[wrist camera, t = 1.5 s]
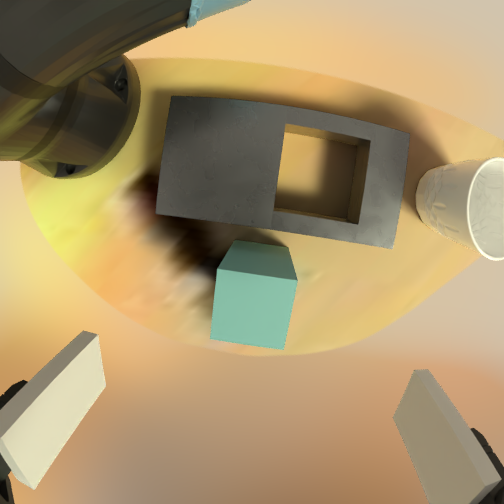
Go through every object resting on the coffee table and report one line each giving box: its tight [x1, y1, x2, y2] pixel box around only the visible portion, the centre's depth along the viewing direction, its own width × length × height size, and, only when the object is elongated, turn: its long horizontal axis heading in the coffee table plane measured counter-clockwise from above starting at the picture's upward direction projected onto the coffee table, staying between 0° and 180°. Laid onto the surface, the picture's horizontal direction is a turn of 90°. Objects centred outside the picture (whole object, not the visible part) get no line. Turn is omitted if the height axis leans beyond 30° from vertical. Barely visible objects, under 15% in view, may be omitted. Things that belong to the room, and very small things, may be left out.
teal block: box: [210, 240, 298, 350], centre depth 24 cm, size 5×5×10 cm
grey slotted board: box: [156, 96, 410, 249], centre depth 25 cm, size 20×10×4 cm, turn 82°
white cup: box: [415, 157, 504, 260], centre depth 22 cm, size 8×8×10 cm
